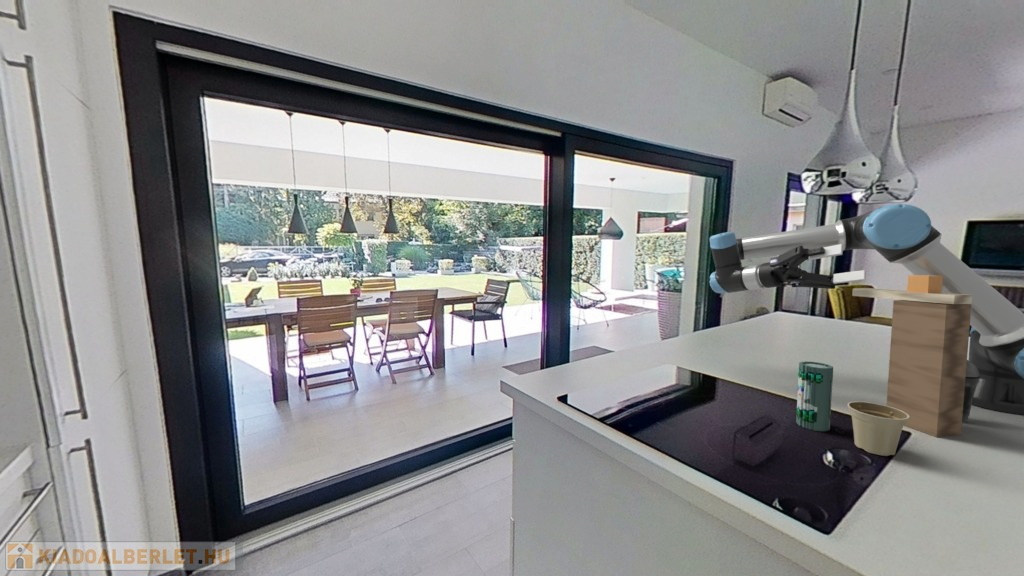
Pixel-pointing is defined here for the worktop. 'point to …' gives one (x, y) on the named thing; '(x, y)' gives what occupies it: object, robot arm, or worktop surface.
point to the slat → (913, 296)
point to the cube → (924, 284)
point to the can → (814, 396)
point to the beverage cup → (969, 389)
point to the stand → (929, 364)
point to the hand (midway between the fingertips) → (854, 262)
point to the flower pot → (877, 427)
